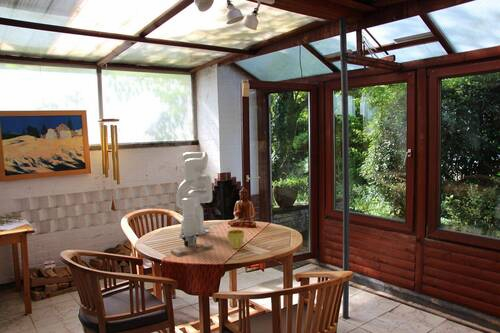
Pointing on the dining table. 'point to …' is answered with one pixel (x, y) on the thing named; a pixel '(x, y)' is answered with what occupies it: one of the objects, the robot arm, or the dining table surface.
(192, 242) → the wooden handled gray mallet
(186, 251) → the board
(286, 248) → the dining table surface
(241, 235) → the plant pot
